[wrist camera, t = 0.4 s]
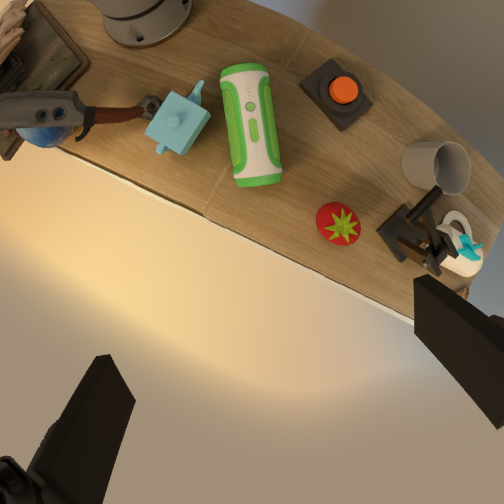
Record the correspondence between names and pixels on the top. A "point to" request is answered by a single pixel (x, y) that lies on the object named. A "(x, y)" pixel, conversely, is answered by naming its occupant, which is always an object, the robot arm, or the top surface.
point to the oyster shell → (463, 293)
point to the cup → (437, 166)
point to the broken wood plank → (11, 26)
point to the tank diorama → (38, 64)
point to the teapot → (178, 122)
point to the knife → (65, 111)
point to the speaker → (251, 125)
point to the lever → (429, 223)
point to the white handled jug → (461, 247)
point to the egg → (46, 133)
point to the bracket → (413, 240)
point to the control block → (319, 93)
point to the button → (343, 90)
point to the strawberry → (338, 223)
